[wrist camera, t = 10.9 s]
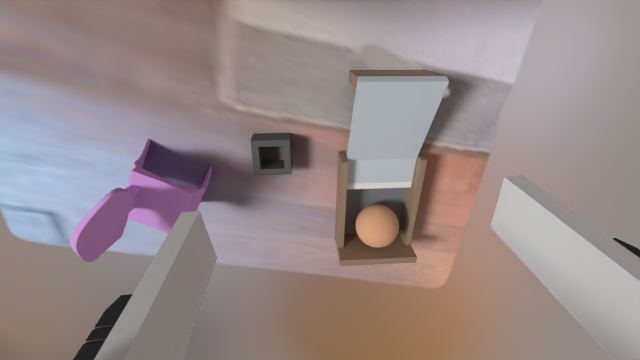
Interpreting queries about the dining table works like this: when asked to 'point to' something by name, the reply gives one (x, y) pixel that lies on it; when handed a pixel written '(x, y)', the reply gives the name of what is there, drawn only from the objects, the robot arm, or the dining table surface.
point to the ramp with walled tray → (385, 158)
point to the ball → (377, 225)
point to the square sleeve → (271, 141)
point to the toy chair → (134, 209)
